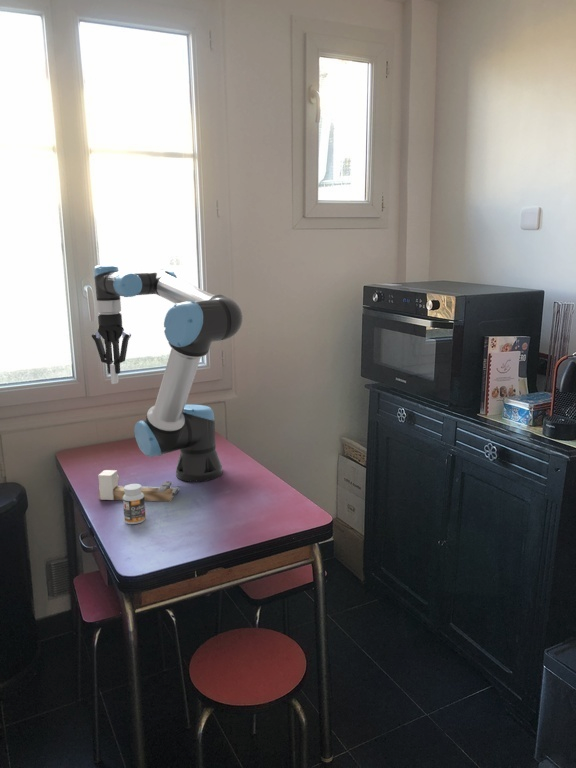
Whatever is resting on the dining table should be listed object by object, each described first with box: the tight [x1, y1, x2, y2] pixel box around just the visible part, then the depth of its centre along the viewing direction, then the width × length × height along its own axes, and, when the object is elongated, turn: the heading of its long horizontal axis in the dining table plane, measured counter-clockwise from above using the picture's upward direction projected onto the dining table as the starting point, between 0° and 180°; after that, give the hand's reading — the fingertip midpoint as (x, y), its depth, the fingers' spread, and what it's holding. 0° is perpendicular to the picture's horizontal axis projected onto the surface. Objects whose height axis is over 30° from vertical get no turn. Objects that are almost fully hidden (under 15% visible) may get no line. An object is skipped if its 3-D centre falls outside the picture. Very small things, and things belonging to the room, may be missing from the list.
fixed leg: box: [157, 480, 172, 492], centre depth 187 cm, size 2×7×2 cm, turn 173°
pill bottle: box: [122, 483, 147, 525], centre depth 171 cm, size 6×6×10 cm
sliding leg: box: [97, 469, 120, 501], centre depth 189 cm, size 4×8×8 cm, turn 173°
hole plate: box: [118, 485, 180, 497], centre depth 192 cm, size 22×4×1 cm, turn 83°
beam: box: [98, 487, 174, 502], centre depth 187 cm, size 22×2×3 cm, turn 83°
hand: (115, 382), depth 210 cm, fingers closed
